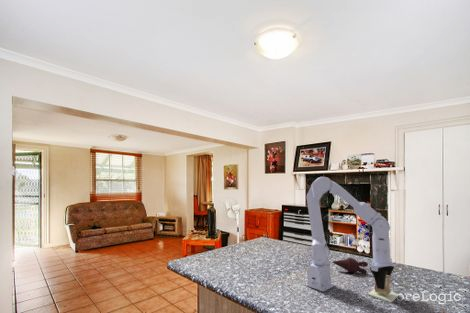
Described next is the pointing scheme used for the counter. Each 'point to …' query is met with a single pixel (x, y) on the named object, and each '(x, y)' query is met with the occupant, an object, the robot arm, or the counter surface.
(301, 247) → the counter surface
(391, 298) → the coaster
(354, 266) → the icecream
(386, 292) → the block
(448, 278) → the counter surface
